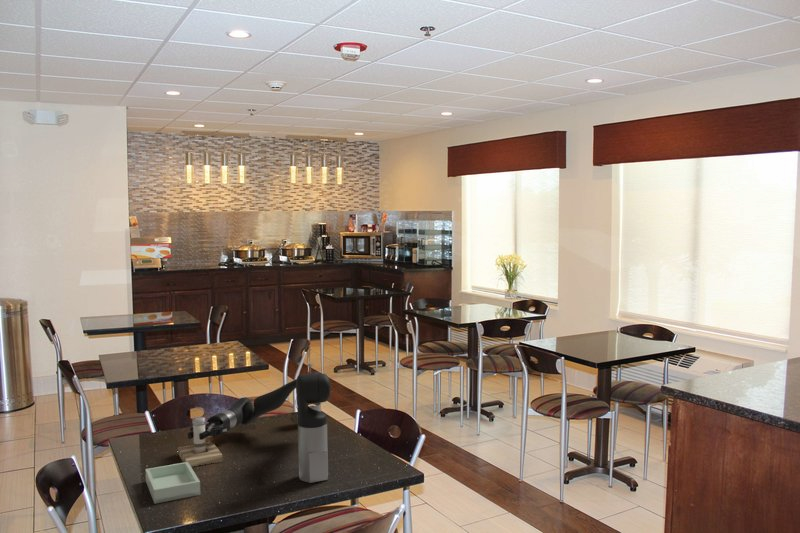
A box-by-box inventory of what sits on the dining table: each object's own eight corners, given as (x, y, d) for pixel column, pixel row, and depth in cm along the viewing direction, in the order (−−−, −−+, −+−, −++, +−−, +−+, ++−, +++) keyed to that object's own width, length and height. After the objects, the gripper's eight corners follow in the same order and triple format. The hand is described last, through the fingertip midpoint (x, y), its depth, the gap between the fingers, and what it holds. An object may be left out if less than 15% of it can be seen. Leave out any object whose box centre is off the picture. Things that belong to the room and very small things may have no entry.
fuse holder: (222, 461, 224) (222, 454, 224) (186, 467, 218) (186, 460, 218) (212, 448, 238) (212, 441, 238) (178, 454, 232) (178, 447, 232)
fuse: (207, 458, 227) (206, 419, 227) (195, 460, 225) (193, 420, 225) (205, 455, 231) (203, 416, 230) (192, 457, 229) (191, 417, 228)
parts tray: (200, 494, 195) (200, 481, 195) (154, 503, 189) (154, 490, 189) (188, 473, 213) (187, 461, 213) (145, 481, 207) (145, 469, 206)
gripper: (205, 411, 243) (176, 424, 227) (238, 413, 239) (212, 427, 223) (205, 431, 244) (177, 445, 227) (239, 434, 240) (212, 448, 223)
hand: (194, 436), depth 225 cm, fingers closed on fuse, 4 cm apart
